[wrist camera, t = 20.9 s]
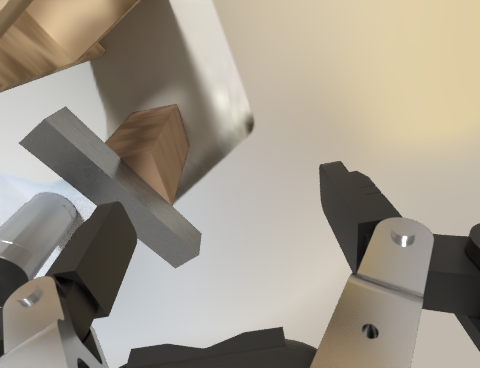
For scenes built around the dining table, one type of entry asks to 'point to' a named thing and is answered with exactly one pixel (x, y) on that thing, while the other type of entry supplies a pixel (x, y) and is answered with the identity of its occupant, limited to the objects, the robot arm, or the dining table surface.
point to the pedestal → (154, 147)
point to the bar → (112, 184)
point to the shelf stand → (52, 35)
